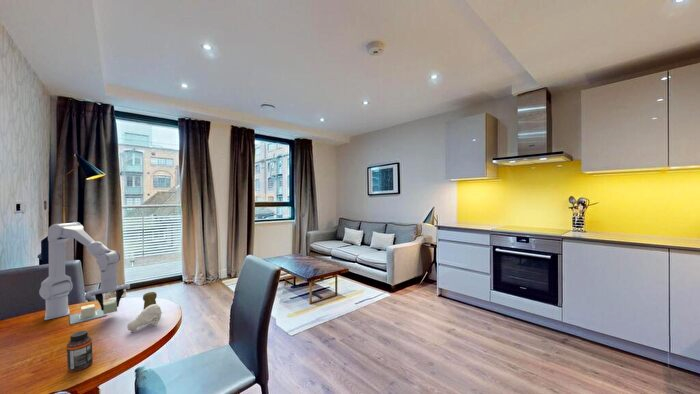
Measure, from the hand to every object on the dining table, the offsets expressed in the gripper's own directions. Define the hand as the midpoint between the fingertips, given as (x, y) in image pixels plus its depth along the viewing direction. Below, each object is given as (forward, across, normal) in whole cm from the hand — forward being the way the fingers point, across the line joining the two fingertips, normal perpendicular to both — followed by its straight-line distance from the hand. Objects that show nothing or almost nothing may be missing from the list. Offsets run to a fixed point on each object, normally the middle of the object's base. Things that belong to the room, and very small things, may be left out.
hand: (110, 308), depth 127 cm
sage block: (+2, 0, 0) cm, 2 cm away
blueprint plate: (+4, -7, +10) cm, 13 cm away
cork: (+5, +13, -12) cm, 18 cm away
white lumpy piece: (+5, +9, -23) cm, 25 cm away
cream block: (+4, -7, +10) cm, 13 cm away
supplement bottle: (+5, -11, -40) cm, 42 cm away
